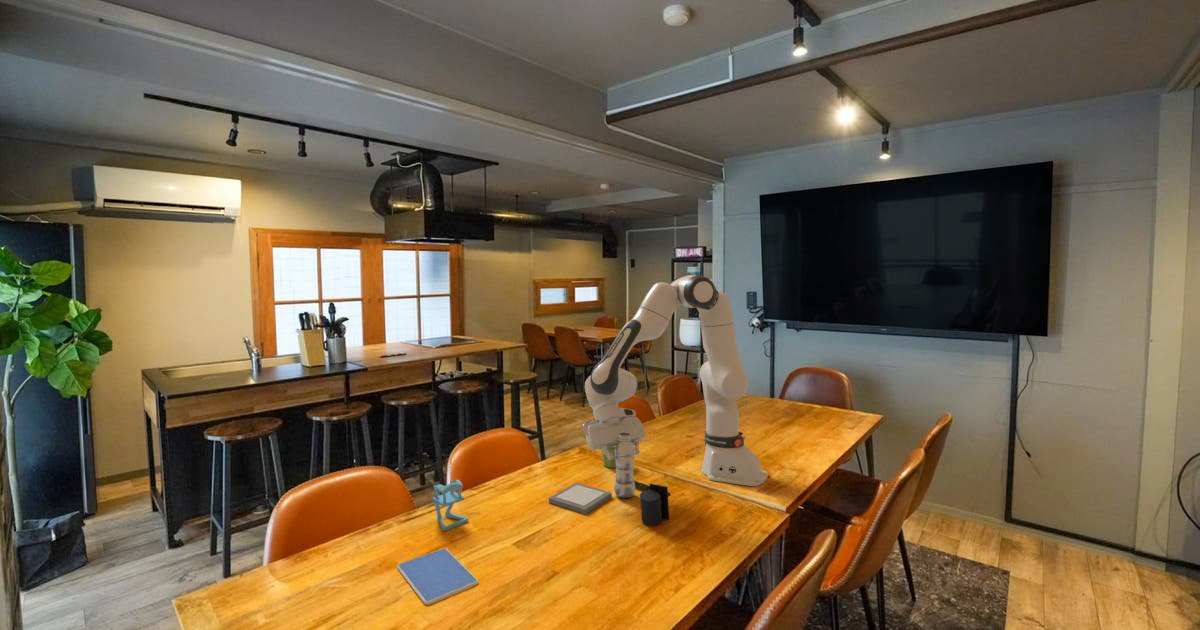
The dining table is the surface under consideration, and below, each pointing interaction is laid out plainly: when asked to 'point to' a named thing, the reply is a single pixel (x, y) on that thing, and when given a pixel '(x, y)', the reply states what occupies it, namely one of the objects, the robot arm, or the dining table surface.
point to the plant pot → (609, 462)
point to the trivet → (580, 498)
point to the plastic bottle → (624, 467)
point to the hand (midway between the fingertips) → (624, 456)
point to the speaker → (654, 505)
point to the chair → (448, 502)
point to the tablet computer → (436, 576)
